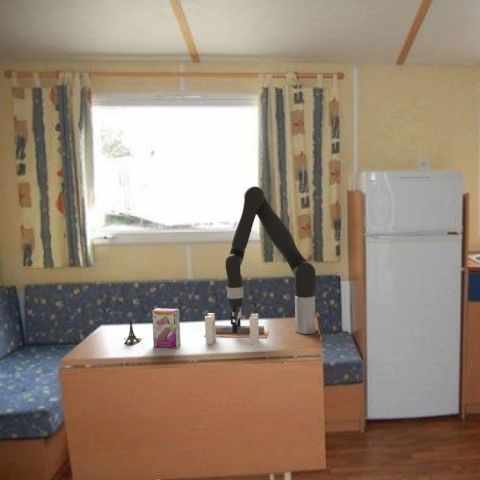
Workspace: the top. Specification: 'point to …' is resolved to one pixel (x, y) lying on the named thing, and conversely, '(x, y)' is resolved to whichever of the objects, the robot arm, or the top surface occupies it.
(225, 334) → the mat
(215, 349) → the top surface
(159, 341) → the candy bar box
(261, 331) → the rail
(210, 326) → the stands
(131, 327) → the eiffel tower figurine
